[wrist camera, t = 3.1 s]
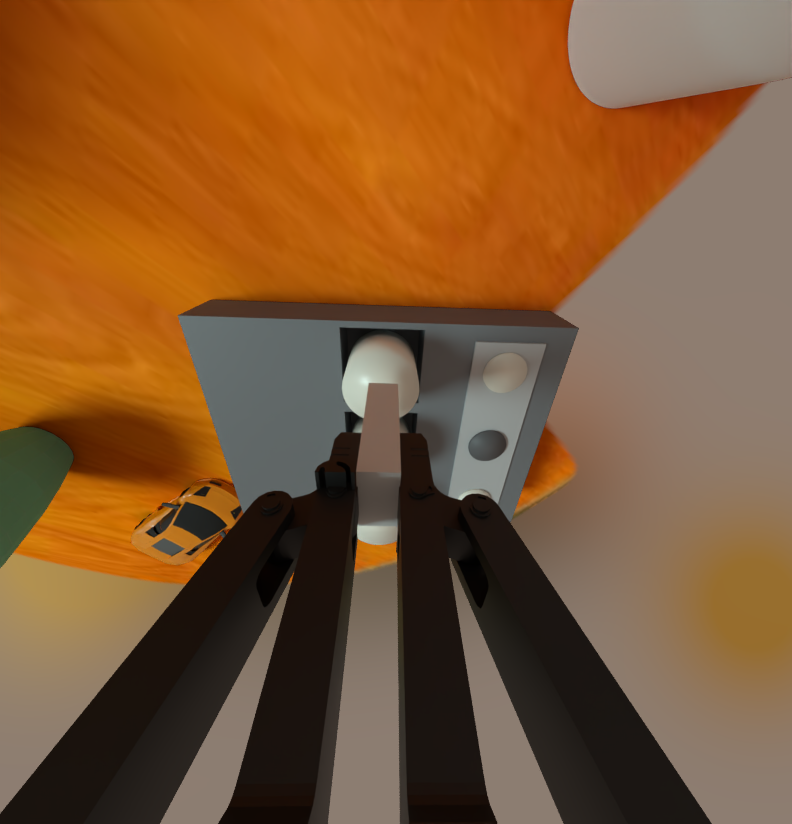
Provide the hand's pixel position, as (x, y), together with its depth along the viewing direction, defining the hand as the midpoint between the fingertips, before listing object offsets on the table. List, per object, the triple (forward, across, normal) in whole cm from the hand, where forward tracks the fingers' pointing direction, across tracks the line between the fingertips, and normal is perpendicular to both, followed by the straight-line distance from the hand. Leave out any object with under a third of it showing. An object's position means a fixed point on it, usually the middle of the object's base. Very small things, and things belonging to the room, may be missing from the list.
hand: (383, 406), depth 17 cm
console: (+9, 0, -6) cm, 10 cm away
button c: (+6, 0, 0) cm, 6 cm away
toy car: (+9, -20, -20) cm, 30 cm away
